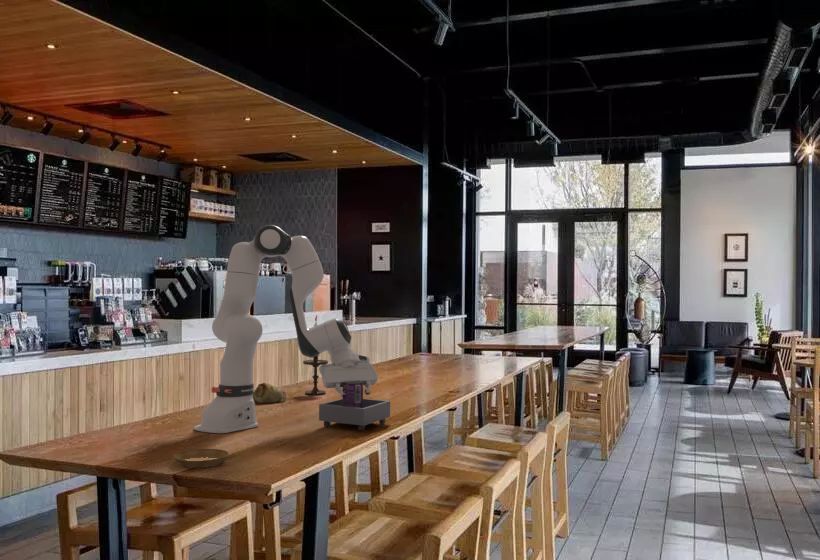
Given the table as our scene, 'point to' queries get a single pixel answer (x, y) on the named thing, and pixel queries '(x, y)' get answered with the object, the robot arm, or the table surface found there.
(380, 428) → the table surface
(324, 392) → the candlestick
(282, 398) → the olive green rounded lump
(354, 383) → the beverage can
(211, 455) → the plant saucer
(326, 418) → the parts cart
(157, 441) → the table surface
